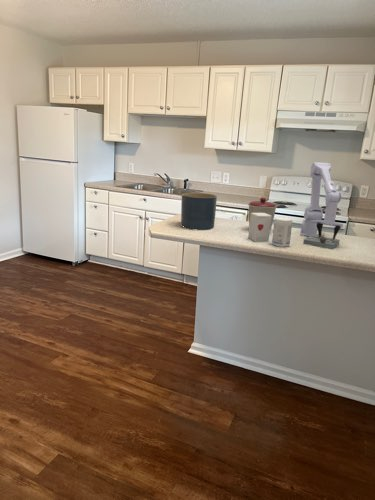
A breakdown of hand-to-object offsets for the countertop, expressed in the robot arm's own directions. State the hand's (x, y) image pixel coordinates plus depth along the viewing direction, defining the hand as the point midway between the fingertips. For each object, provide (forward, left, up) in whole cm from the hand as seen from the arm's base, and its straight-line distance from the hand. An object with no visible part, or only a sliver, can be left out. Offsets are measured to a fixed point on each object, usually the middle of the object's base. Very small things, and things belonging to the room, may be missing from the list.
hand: (326, 237), depth 207 cm
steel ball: (+1, 0, -2) cm, 3 cm away
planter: (-77, -13, -4) cm, 79 cm away
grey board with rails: (-2, 0, -4) cm, 5 cm away
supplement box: (-33, -17, -4) cm, 38 cm away
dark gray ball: (0, -6, 0) cm, 6 cm away
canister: (-42, +6, -4) cm, 43 cm away
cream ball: (-4, +6, 0) cm, 8 cm away
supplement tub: (-19, -19, -4) cm, 27 cm away
